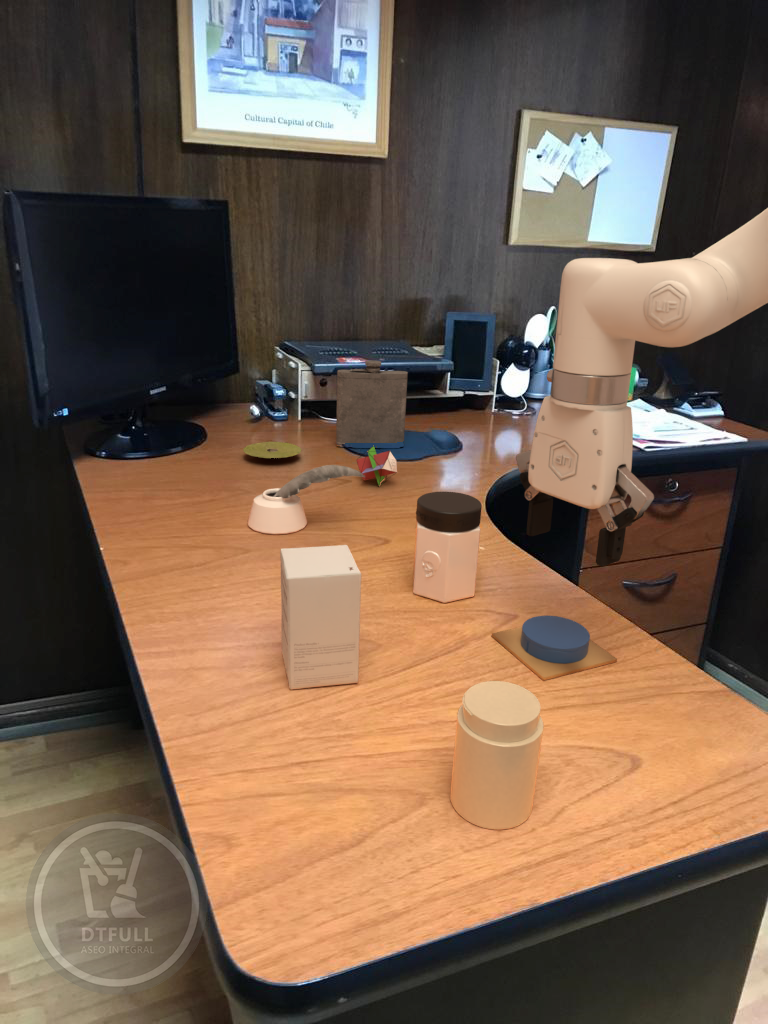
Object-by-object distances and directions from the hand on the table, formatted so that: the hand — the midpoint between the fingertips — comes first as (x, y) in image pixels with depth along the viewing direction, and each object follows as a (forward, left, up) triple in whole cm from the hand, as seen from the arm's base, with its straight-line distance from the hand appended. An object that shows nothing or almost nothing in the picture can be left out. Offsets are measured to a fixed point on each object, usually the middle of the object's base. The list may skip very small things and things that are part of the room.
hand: (571, 547), depth 83 cm
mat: (+7, -81, -13) cm, 82 cm away
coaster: (0, -1, -13) cm, 13 cm away
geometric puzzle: (-6, -61, -13) cm, 62 cm away
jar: (+4, -19, -13) cm, 23 cm away
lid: (0, 0, -11) cm, 11 cm away
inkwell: (+13, -46, -13) cm, 49 cm away
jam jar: (+20, +17, -13) cm, 30 cm away
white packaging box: (+26, -7, -13) cm, 30 cm away
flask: (-15, -83, -13) cm, 85 cm away
